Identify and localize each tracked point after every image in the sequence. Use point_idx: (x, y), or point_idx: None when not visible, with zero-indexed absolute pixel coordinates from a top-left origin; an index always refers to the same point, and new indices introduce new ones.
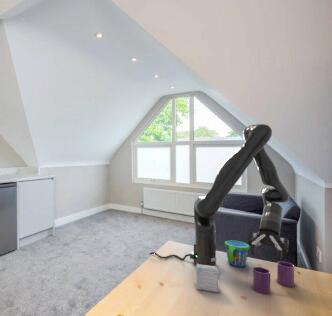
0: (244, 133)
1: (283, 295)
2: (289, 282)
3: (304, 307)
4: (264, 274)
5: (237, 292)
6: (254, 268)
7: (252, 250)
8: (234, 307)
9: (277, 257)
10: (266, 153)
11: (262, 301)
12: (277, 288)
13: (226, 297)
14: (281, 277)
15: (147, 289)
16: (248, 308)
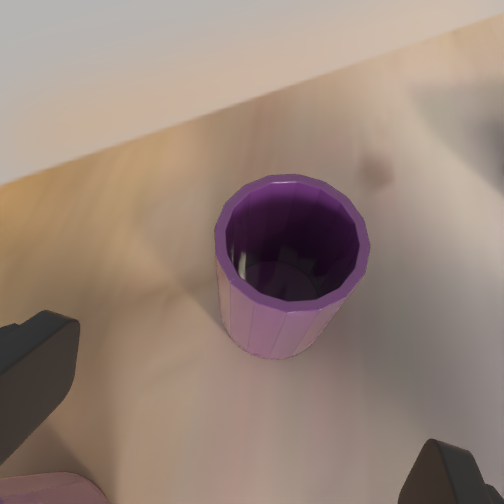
0: None
1: (144, 291)
2: (25, 475)
3: (72, 198)
4: (272, 180)
5: (410, 210)
6: (356, 255)
7: (480, 482)
8: (403, 78)
9: (50, 320)
10: None
11: (281, 171)
12: (155, 388)
13: (452, 139)
14: (75, 495)
15: None
16: (346, 91)
